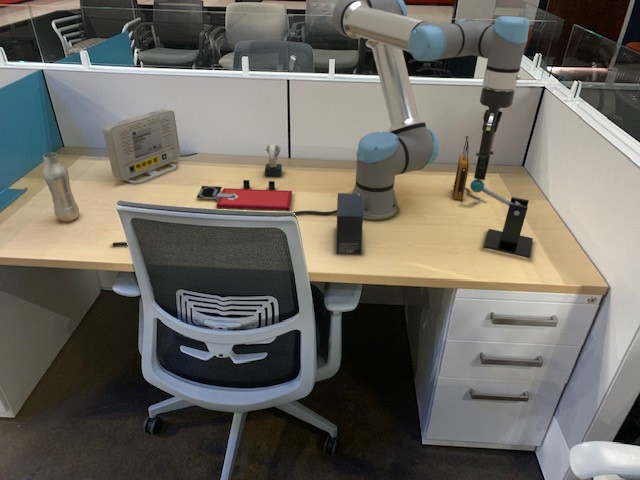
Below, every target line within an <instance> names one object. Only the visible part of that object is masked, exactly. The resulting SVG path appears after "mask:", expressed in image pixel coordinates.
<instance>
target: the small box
mask: <svg viewBox="0 0 640 480" xmlns="http://www.w3.org/2000/svg"><path fill="white" fill-rule="evenodd" d="M336 199H337V200H336V201H337V203H336V204H337V205H336V210H337V213H336V254H338V255H362V244H363V243H362V242H363V241H362V239H363V224H364V223H363V222H364V219H363V207H362V195H361V194H358V193H352V192H338V193H337V198H336Z"/></svg>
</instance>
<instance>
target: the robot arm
mask: <svg viewBox="0 0 640 480" xmlns="http://www.w3.org/2000/svg"><path fill="white" fill-rule="evenodd" d="M407 10H408V9H407V6H406V4H405V1H404V0H338V1H337V2H336V3H335V5H334V8H333V11H332V23H333V26H334V28H335V29H336V31H337V32H338V33H339V34H341V36H344V37H347V38H349V39H354V40H358V39H361V38H363V39H364V43H365V46H366V47H367V48H369V49H371V50H372V54H373V59H374V62H375V66H376V69H377V74H378V78H379V82H380V87H381V90H382V94H383V98H384V102H385V106H386V110H387V114H388V118H389V122H390V127H389V130H388V131H374V132H370V133H368V134H366V135H364V136H363V137H361V138H360V140H359V141H358V145H357V150H356V168H355V170H356V172H355V185H354V187H353V190H352V192H351V193H358V194H361V195H362V207H363V220H366V221H367V220H368V221H383V220H388V219H391V218H392V217H394V216H395V215H396V214H397V213H398V206H399V205H398V200H397V197H396V192H395V188H394V187H395V180H396V179H395V178H396V176H399V175H402V174H406V173H410V172H411V173H412V172H415V171H421V170H423V169H424V168H427V167H430V166H432V164H434V163H435V161H436V159H437V157H438V155H439V150H440V142H439V138H438V136H437V134H436V133H435V132H434V131H433V130H432V129H430V128H427V124H426V121H424V120H423V119H421V118H420V117H419V113H418V109H417V105H416V101H415V96H414V92H413V89H412V84H411V80H410V76H409V72H408V68H407V64H406V60H405V55H404V51H405V52H408V53H409V54H410V55H411V56H412V57H413V59H414V60H416V61H419V62H433V61H438V60H444V59H452V58H460V57H467V56H473V57H474V56H475V57H478V58H479V57H480V58H484V59H487V61H486V67H485V71H484V75H483V81H482V86H483V87H482V88H481V91H480V97H479V103H480V104H481V105H482V106H484V107H487V108H488V109H486V110H485V111H484V114H483V123H482V128H481V129H482V134H481V140H480V143H479V150H478V152H476V154H475V156H476V157H477V160H476V161H477V162H476V166H475V171H474V177H473V180H476V179H480V180H482V181H485V180H486V176H487V171H488V167H489V163H490V158H491V155H494V151H492V150H493V145H494V140H495V135H496V132H498V131H497V130H498V128H499V126H500V121H501V119H502V115H503V111H501V109H508V108H510V107H512V105H513V101H514V97H515V89H516V87H517V82H518V81H520V80H521V79H522V76H521V75H520V70H521V64H522V60H523V57H524V54H525V50H526V45H527V42H528V40H529V39H528V36H529V30H530V21H529V19H528V18H526V17H523V16H522V17H521V16H514V15H513V16H511V15H502V16H498V17H497V18H496V19H495V21H494V23H489V22H484V21H478V20H476V19H473V18H471V19H464V18H463V19H459V20H457V21H456V22H452V23H435V22H430V21H427V20H423V19H419V18H415V17H411V16H408V11H407ZM293 213H295V214H296V215H295V216H297V215H306V214H308V215H311V214H312V215H321V216H326V215H327V216H329V215H334V214H335V215H336V214H337V209H334V210H331V211H317V210H299V211H293ZM126 242H127V241H120V242H112V246H113V247H119V246H128V245H127V243H126Z"/></svg>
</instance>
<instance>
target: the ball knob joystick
mask: <svg viewBox="0 0 640 480" xmlns="http://www.w3.org/2000/svg"><path fill="white" fill-rule="evenodd" d="M469 186H470V190H471V191H472V192H473V193H476V194H478V193H481V192H483V193H484V194H485V195H488V196H490V197H491V198H493V199H495V200H497V201H498V202H501V203H502V204H504V205H506V206H508V207H509V205H510V203H512V202H511V200H509V199H507V198H505V197H504V196H502V195H500V194H498V193H496V192H495V191H493V190H490V189H489V188H487V187H486V186H485V182H484V180H480V179H473V180H472V181H471V182H470V185H469ZM512 204H517V205H523V204H521V203H519V202H518V201H515V203H512ZM523 206H525V205H523Z"/></svg>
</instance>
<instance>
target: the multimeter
mask: <svg viewBox="0 0 640 480" xmlns="http://www.w3.org/2000/svg"><path fill="white" fill-rule="evenodd" d="M468 139H469V135H466V136H465V142H464V146H463V154H459V157H458V162H457V166H456V167H457V168H456V173H455V179H454V183H453V184H454V185H453V189H452V191H453V192H452V193H453V200H455V201H456V200H457V201H460V203H461V204H463V199H464V194H465V190H467V191H468V192H467V195H468V196H472V197H473V198H475V199H477V200H475V201H474V202H472V203H471V204H472V205H475V204H477V203H478V202H479V201H483V202H485V200H484V199H482V198H481V197H478V196H476V195H474V194H471V193H470V190H469V189H468V188H466V185H467V180H468V174H469V170H470V158H469V141H468Z"/></svg>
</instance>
